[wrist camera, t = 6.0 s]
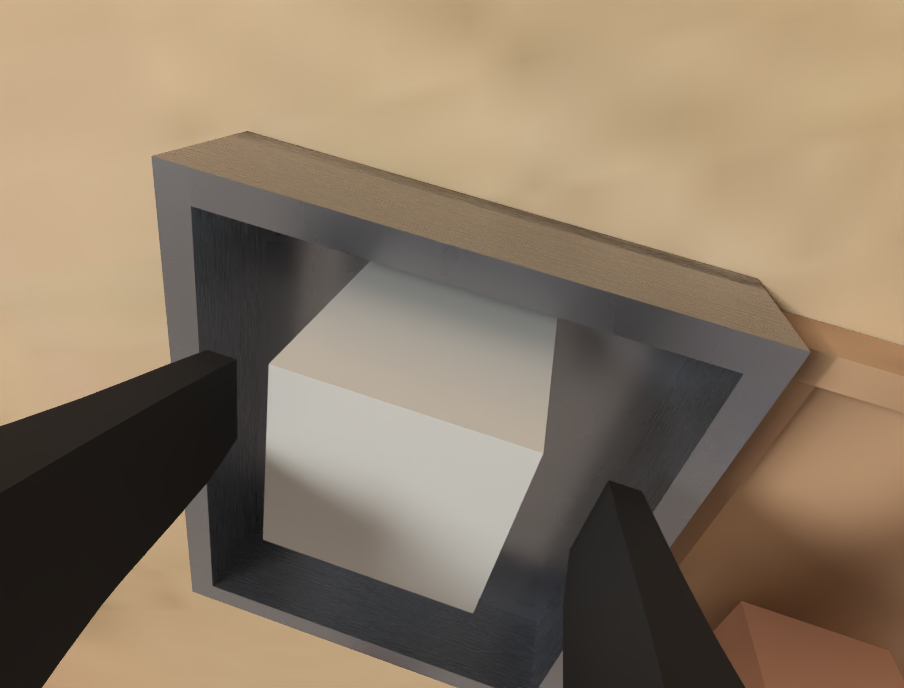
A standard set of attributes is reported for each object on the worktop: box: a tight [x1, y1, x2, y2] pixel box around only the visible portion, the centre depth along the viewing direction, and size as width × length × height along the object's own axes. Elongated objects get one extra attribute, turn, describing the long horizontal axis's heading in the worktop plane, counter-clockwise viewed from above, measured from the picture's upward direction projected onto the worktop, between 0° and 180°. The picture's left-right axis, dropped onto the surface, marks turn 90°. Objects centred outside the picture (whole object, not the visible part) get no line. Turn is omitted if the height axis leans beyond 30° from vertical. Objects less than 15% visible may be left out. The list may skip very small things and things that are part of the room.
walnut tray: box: [670, 310, 904, 679], centre depth 13 cm, size 10×13×2 cm
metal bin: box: [152, 131, 811, 688], centre depth 13 cm, size 11×13×3 cm
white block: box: [263, 261, 557, 613], centre depth 10 cm, size 4×4×5 cm
